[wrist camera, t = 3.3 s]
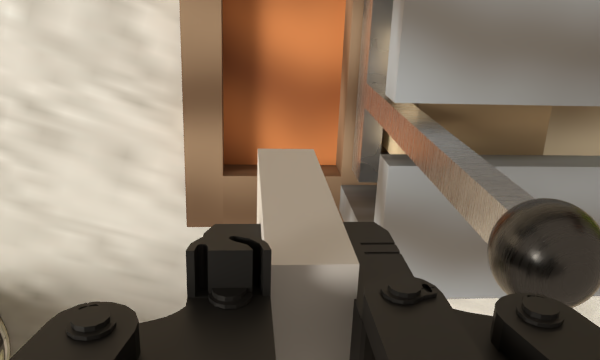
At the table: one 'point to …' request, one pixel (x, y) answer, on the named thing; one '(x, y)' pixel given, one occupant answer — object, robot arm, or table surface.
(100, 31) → the table surface
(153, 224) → the table surface
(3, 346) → the coffee can
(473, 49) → the bench vise
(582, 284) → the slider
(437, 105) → the block
